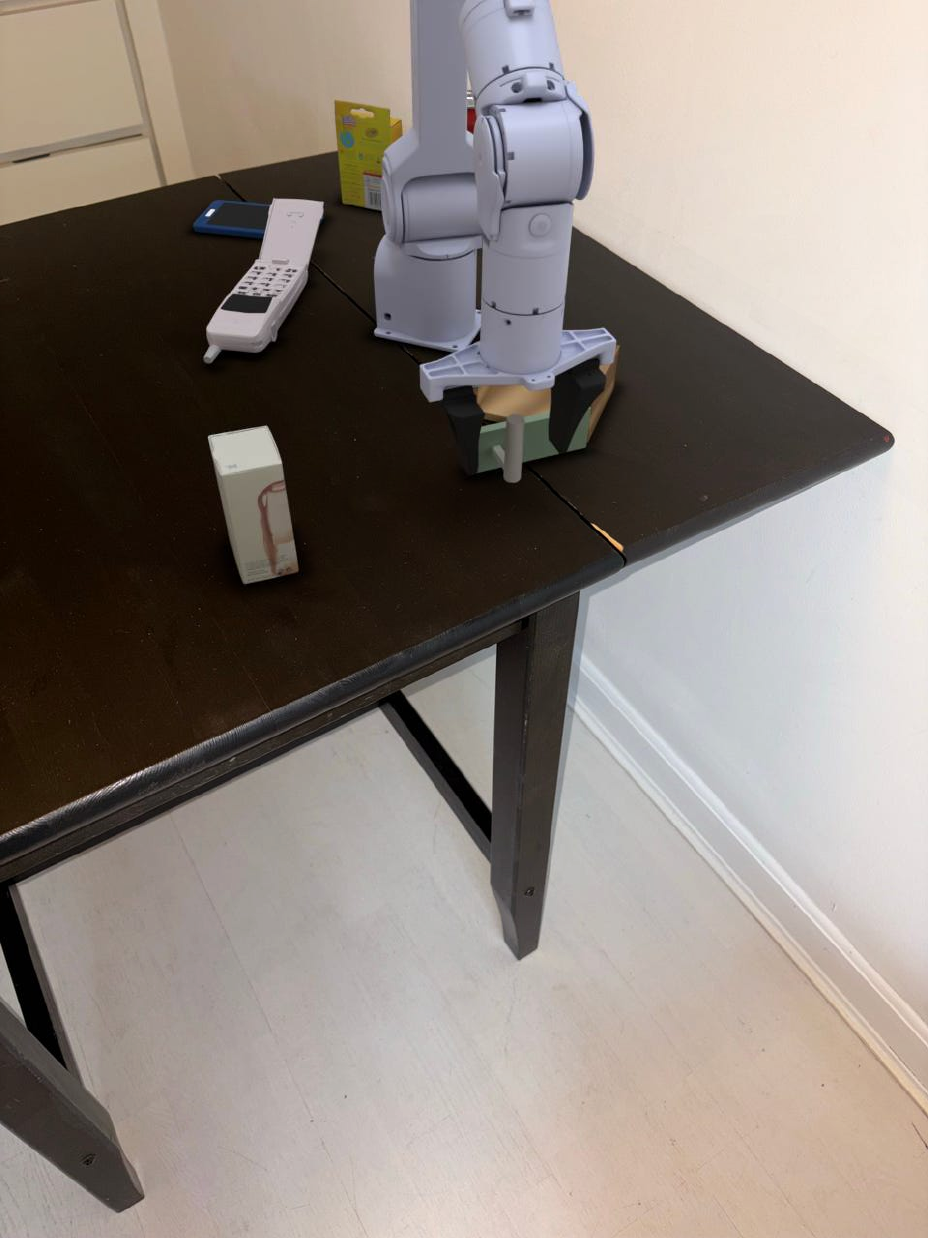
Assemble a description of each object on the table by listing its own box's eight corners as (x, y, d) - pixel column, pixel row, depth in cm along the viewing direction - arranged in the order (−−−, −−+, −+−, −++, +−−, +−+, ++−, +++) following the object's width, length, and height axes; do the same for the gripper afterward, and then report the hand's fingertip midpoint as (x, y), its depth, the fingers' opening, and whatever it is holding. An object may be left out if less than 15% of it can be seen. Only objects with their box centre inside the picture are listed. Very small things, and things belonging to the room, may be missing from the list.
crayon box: (406, 205, 115) (403, 101, 106) (395, 215, 113) (391, 109, 105) (352, 194, 117) (345, 91, 109) (341, 203, 115) (332, 99, 107)
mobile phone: (326, 199, 102) (247, 313, 85) (332, 253, 106) (258, 372, 89) (273, 195, 103) (184, 308, 86) (280, 248, 107) (197, 365, 90)
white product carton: (301, 573, 71) (284, 465, 64) (242, 587, 70) (218, 478, 63) (286, 529, 74) (268, 422, 67) (230, 542, 73) (205, 434, 66)
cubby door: (490, 505, 76) (493, 429, 71) (467, 469, 79) (469, 394, 74) (608, 476, 79) (619, 401, 74) (581, 442, 82) (590, 368, 77)
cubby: (469, 415, 85) (469, 371, 82) (501, 364, 91) (503, 321, 88) (587, 442, 83) (593, 398, 79) (613, 388, 88) (619, 345, 85)
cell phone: (214, 205, 114) (213, 198, 114) (326, 215, 112) (326, 209, 112) (191, 231, 109) (190, 225, 109) (308, 243, 108) (307, 237, 107)
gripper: (444, 343, 60) (445, 508, 70) (646, 303, 64) (619, 465, 74) (407, 291, 65) (413, 454, 75) (598, 257, 68) (579, 416, 78)
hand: (513, 456), depth 74 cm, fingers open, 7 cm apart
